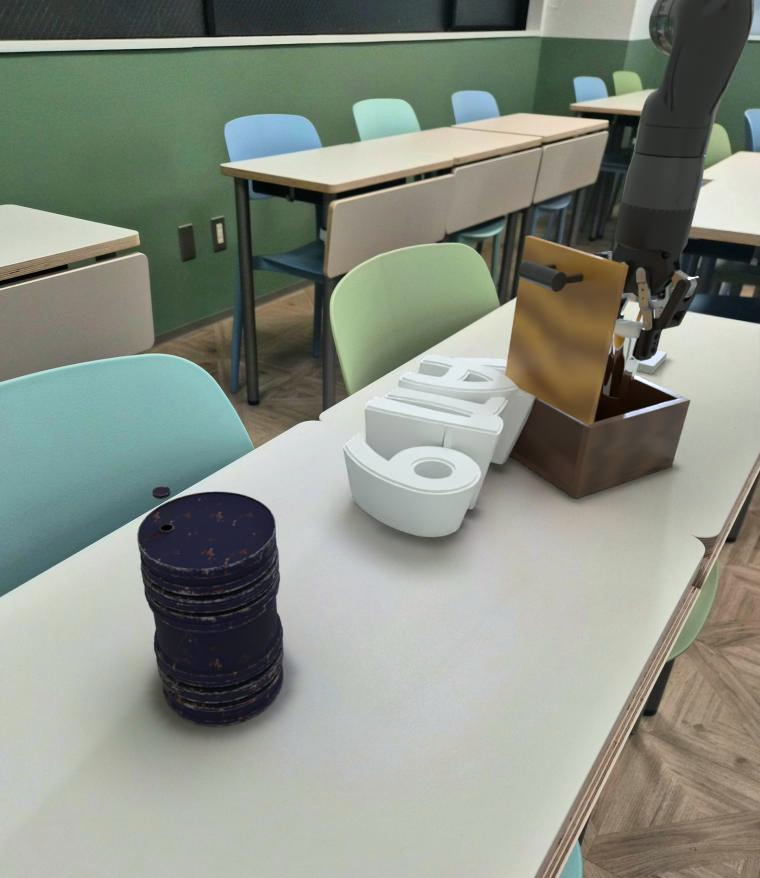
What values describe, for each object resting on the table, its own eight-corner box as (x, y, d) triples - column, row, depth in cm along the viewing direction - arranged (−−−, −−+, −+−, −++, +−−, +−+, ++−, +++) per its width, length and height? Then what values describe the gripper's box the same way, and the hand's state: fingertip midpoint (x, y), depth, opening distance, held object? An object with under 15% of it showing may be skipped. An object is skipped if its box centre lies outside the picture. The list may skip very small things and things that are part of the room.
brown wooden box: (589, 421, 100) (602, 360, 96) (672, 466, 90) (690, 399, 85) (497, 447, 94) (506, 382, 89) (575, 499, 83) (590, 428, 79)
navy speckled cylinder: (288, 636, 64) (280, 455, 54) (281, 727, 55) (271, 531, 46) (173, 637, 63) (145, 455, 54) (149, 728, 55) (111, 532, 46)
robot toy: (651, 374, 115) (655, 358, 114) (578, 356, 121) (581, 342, 120) (665, 360, 120) (669, 345, 119) (594, 344, 126) (597, 330, 125)
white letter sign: (446, 404, 103) (452, 332, 98) (560, 432, 96) (573, 356, 91) (308, 521, 78) (305, 432, 72) (450, 571, 70) (459, 476, 65)
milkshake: (643, 391, 90) (662, 311, 84) (624, 404, 86) (642, 321, 81) (608, 381, 92) (624, 303, 87) (588, 393, 89) (603, 313, 84)
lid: (531, 235, 80) (493, 239, 78) (628, 265, 70) (589, 270, 68) (509, 378, 89) (475, 385, 87) (593, 424, 79) (557, 433, 76)
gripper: (741, 208, 74) (697, 367, 83) (632, 186, 85) (603, 328, 93) (691, 215, 71) (651, 379, 80) (584, 191, 81) (559, 338, 90)
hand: (625, 351), depth 86 cm, fingers closed on milkshake, 4 cm apart
